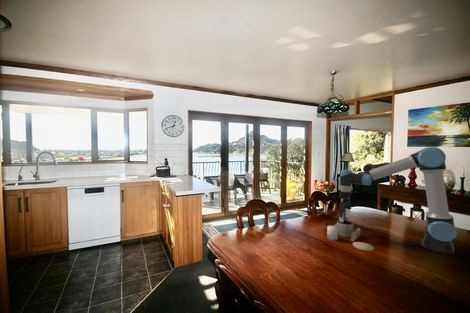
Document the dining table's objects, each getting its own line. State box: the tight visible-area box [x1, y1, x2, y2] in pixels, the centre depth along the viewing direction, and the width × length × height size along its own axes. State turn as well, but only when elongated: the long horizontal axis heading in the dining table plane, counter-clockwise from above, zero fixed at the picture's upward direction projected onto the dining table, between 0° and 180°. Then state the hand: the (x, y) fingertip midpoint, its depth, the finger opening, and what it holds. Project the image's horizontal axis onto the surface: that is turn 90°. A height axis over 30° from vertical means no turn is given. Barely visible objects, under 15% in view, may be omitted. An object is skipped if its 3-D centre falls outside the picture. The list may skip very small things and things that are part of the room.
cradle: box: [332, 223, 361, 242], centre depth 156 cm, size 16×14×5 cm
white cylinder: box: [326, 225, 339, 241], centre depth 150 cm, size 7×7×8 cm
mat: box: [352, 241, 375, 252], centre depth 137 cm, size 12×12×1 cm
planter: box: [336, 219, 354, 239], centre depth 156 cm, size 11×11×10 cm
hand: (344, 219), depth 156 cm, fingers open, 13 cm apart
